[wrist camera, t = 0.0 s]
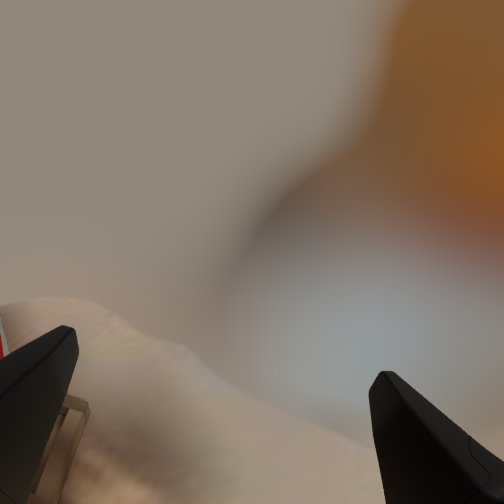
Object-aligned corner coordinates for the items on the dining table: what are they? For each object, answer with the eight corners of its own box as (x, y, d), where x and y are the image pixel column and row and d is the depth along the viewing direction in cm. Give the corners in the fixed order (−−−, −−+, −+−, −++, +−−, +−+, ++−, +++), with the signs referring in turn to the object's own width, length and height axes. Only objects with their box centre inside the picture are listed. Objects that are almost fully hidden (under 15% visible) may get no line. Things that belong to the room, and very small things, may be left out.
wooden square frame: (52, 520, 11) (45, 514, 11) (-55, 457, 10) (-64, 447, 10) (90, 412, 21) (87, 401, 21) (-6, 375, 20) (-11, 364, 20)
